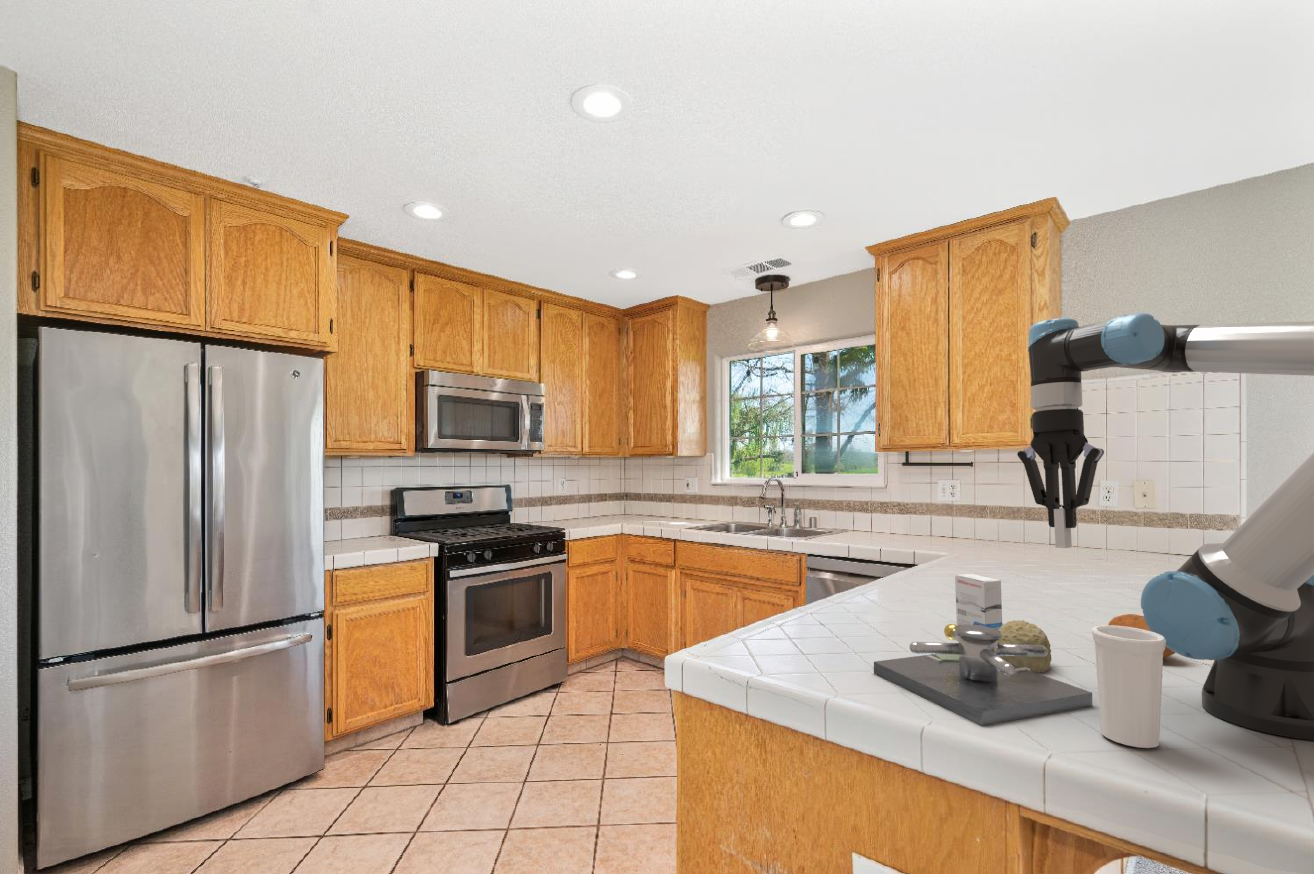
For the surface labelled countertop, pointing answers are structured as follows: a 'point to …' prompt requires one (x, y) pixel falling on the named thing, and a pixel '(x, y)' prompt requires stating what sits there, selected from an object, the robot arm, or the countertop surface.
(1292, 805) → the countertop surface
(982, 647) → the capstan
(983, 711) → the stand
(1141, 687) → the cup
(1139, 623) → the potato
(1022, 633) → the decorative object
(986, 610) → the ink box
